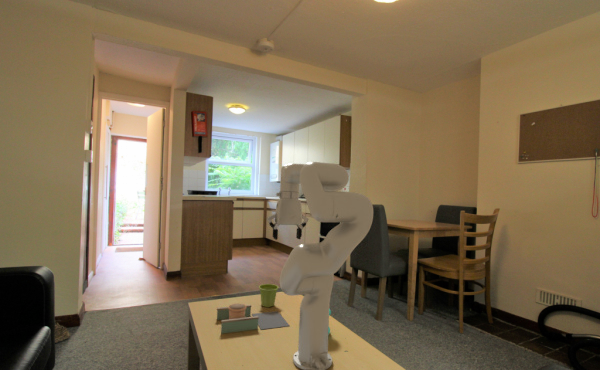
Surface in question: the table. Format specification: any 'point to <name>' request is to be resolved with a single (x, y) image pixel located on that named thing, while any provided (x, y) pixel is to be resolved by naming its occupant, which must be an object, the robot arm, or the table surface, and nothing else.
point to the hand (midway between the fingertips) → (287, 238)
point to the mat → (270, 320)
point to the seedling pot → (237, 311)
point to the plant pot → (268, 294)
